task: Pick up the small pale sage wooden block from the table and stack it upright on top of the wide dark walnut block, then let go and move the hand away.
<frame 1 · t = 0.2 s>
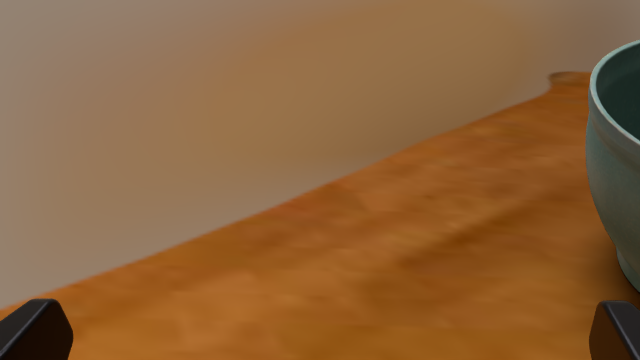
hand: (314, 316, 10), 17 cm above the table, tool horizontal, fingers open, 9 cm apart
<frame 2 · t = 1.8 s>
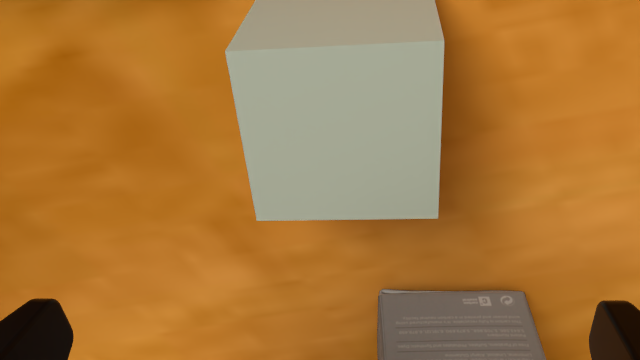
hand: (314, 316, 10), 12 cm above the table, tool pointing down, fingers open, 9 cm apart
skincare box: (453, 345, 27), on the table
sage block: (350, 50, 19), on the table
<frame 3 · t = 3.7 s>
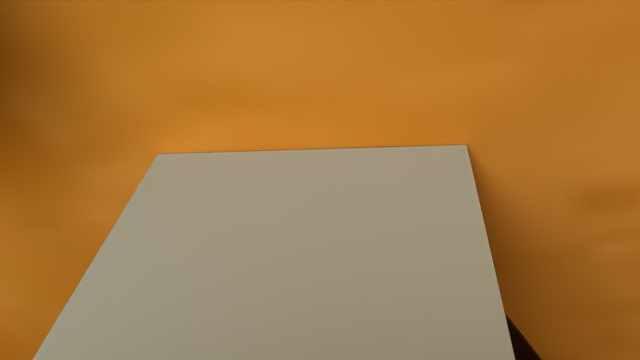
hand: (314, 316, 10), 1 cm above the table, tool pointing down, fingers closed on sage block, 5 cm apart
sage block: (320, 265, 11), on the table, touching gripper
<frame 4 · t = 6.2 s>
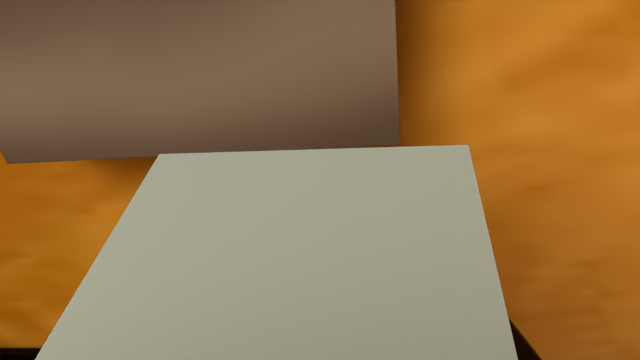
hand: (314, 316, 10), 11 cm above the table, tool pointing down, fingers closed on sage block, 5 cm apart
sage block: (322, 265, 11), point 10 cm above the table, touching gripper
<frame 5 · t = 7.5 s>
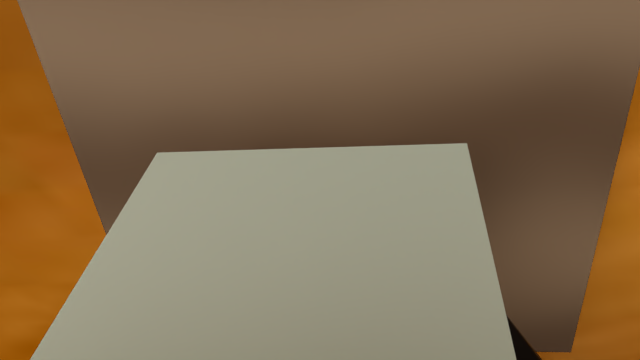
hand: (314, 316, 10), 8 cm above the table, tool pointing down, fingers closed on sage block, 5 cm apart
sage block: (320, 264, 11), point 7 cm above the table, touching gripper
walnut block: (344, 93, 16), on the table
when the fingers open (6 cm above the table, at t = 8.6 s): sage block drops 1 cm, resting on walnut block.
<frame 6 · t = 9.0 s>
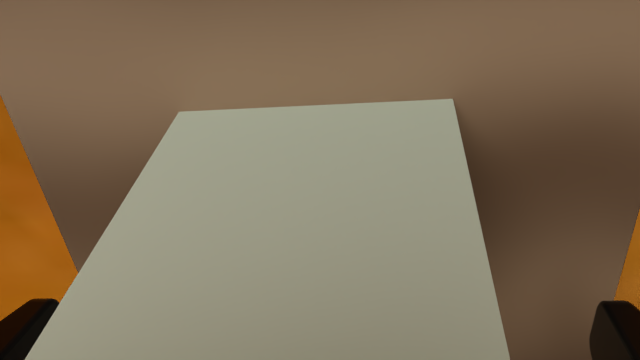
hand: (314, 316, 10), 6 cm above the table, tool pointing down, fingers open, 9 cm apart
sage block: (324, 214, 12), point 3 cm above the table, touching walnut block
walnut block: (340, 120, 15), on the table, touching sage block
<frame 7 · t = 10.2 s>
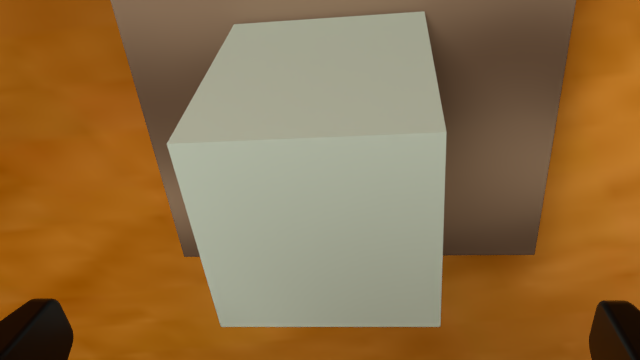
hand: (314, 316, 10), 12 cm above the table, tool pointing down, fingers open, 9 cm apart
sage block: (335, 103, 16), point 4 cm above the table
walnut block: (348, 45, 20), on the table
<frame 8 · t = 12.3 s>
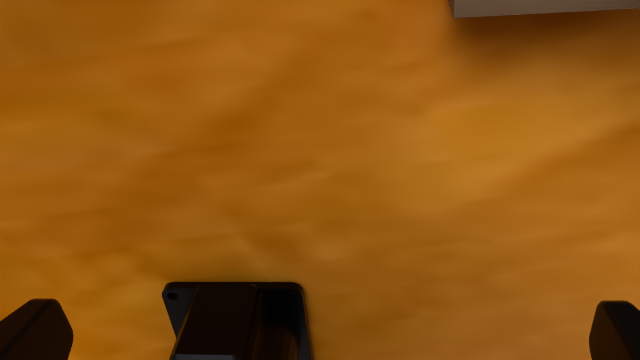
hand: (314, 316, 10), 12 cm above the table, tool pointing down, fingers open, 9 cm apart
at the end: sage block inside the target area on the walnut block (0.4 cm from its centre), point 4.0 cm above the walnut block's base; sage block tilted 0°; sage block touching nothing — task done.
